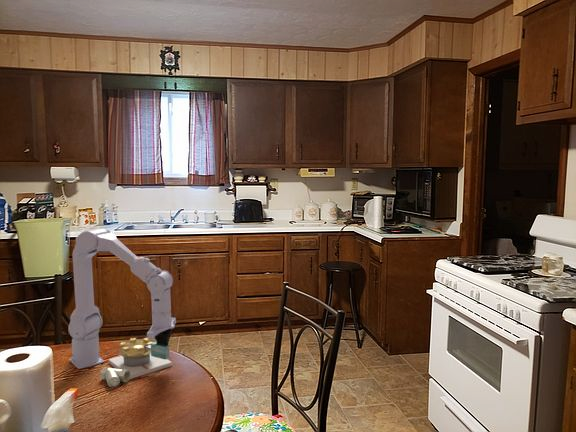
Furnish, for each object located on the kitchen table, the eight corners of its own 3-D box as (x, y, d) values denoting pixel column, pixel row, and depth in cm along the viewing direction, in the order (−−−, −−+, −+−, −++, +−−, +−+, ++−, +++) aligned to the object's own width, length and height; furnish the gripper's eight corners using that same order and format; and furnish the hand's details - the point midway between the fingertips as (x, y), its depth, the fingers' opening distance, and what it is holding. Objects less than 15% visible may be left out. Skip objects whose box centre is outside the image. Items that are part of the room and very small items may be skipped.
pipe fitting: (117, 391, 129) (130, 379, 136) (115, 378, 129) (129, 367, 135) (93, 387, 131) (107, 376, 138) (91, 375, 131) (106, 364, 137)
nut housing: (108, 362, 147) (108, 350, 147) (149, 351, 157) (149, 339, 156) (129, 379, 135) (128, 365, 135) (171, 365, 145) (171, 353, 144)
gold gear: (113, 354, 143) (112, 341, 142) (137, 343, 152) (136, 331, 151) (155, 365, 134) (155, 351, 134) (178, 353, 143) (178, 340, 143)
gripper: (161, 319, 133) (163, 363, 134) (183, 305, 147) (185, 345, 148) (140, 317, 134) (141, 361, 136) (164, 303, 149) (165, 343, 150)
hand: (163, 353), depth 142 cm, fingers closed, pressing on gold gear
